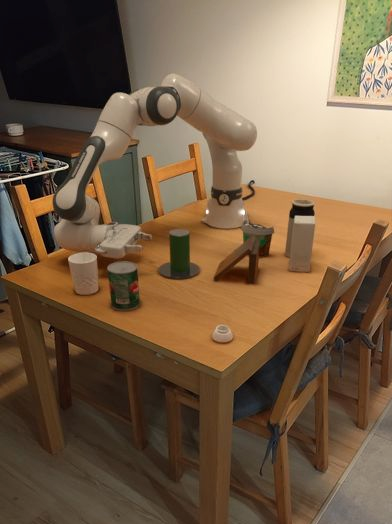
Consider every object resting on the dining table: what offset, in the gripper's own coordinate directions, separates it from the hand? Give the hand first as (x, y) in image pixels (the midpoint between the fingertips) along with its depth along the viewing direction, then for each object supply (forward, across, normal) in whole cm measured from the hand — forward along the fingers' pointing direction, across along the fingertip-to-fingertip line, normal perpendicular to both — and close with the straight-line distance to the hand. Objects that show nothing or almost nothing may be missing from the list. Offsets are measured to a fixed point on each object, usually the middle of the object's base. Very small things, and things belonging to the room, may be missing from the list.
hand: (146, 243), depth 144 cm
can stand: (+28, +1, +8) cm, 29 cm away
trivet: (+10, 0, +8) cm, 13 cm away
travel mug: (+46, +21, +8) cm, 51 cm away
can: (+11, 0, +2) cm, 11 cm away
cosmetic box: (+47, +11, +8) cm, 49 cm away
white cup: (-13, -19, +9) cm, 24 cm away
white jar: (+30, -37, +9) cm, 48 cm away
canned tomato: (+1, -25, +9) cm, 26 cm away
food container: (+31, +19, +8) cm, 38 cm away
